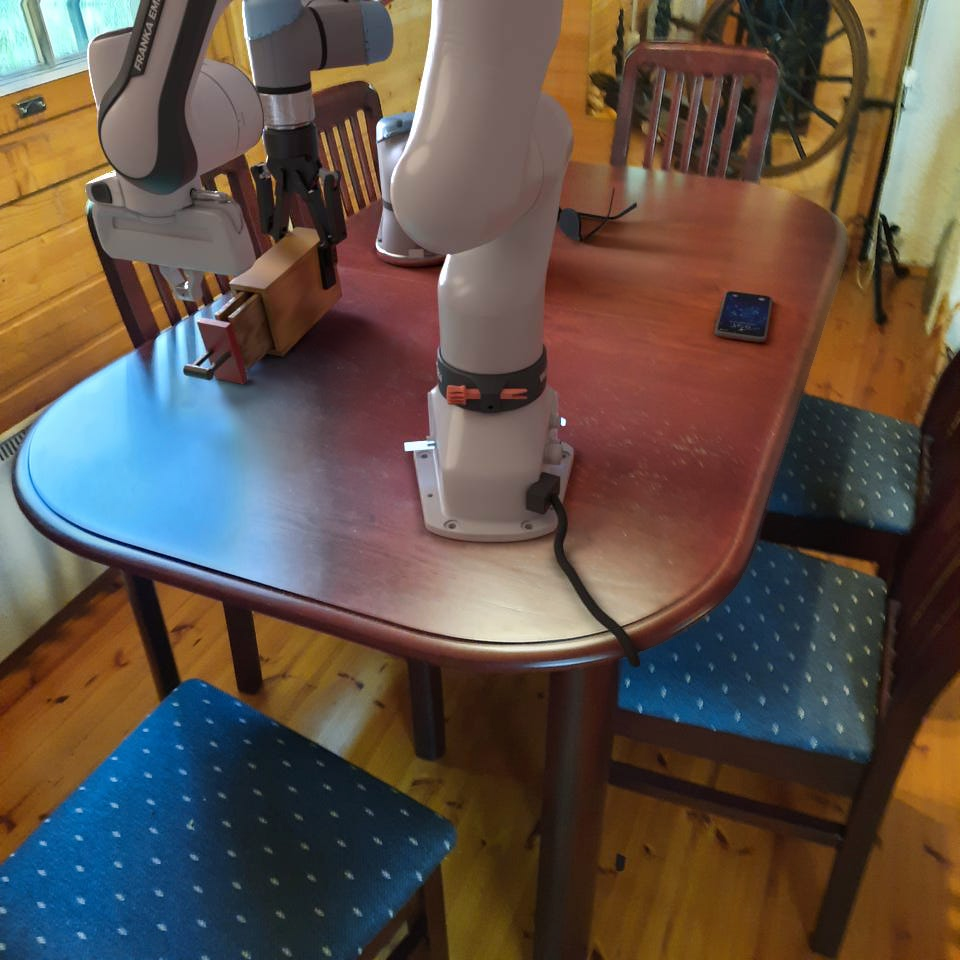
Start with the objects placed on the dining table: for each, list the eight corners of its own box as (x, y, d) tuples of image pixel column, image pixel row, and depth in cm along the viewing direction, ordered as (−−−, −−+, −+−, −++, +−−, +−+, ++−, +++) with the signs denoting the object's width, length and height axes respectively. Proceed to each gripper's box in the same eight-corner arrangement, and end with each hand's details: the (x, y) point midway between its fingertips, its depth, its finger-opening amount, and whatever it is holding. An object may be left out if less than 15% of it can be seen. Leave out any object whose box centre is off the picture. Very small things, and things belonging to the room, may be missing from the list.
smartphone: (773, 295, 132) (766, 339, 121) (772, 301, 133) (765, 345, 121) (725, 289, 134) (713, 331, 123) (724, 295, 135) (712, 337, 123)
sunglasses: (646, 234, 156) (649, 207, 153) (572, 244, 153) (574, 217, 150) (609, 205, 169) (611, 179, 166) (540, 214, 166) (541, 188, 163)
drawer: (219, 408, 112) (200, 350, 106) (190, 401, 113) (170, 344, 107) (306, 322, 127) (293, 267, 121) (279, 317, 128) (265, 263, 122)
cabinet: (282, 356, 122) (265, 289, 115) (248, 350, 124) (228, 283, 116) (342, 296, 134) (330, 231, 126) (310, 290, 135) (296, 226, 128)
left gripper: (362, 121, 116) (377, 282, 130) (246, 110, 122) (272, 265, 136) (334, 135, 110) (353, 302, 124) (213, 123, 116) (244, 283, 130)
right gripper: (253, 185, 96) (275, 299, 104) (111, 169, 103) (141, 278, 111) (219, 203, 91) (244, 321, 99) (72, 185, 98) (107, 297, 106)
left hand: (310, 282), depth 130 cm, fingers closed on cabinet, 6 cm apart
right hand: (189, 298), depth 105 cm, fingers closed
